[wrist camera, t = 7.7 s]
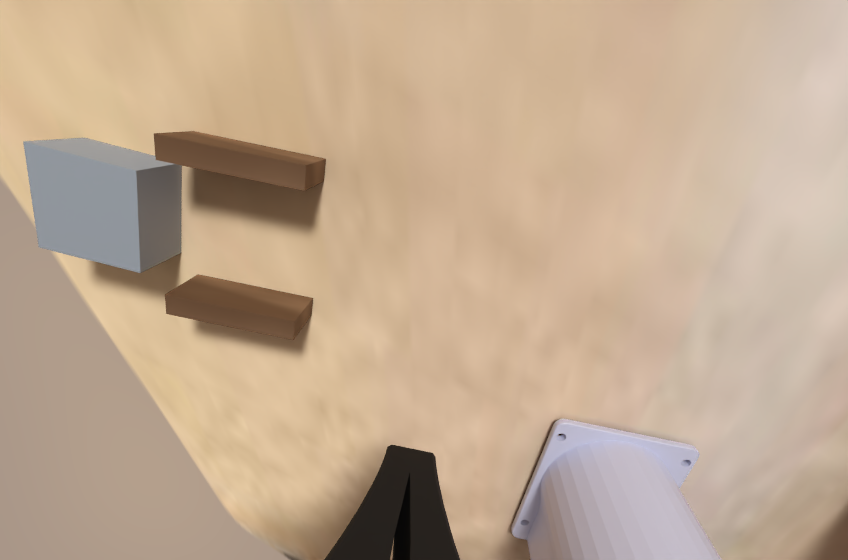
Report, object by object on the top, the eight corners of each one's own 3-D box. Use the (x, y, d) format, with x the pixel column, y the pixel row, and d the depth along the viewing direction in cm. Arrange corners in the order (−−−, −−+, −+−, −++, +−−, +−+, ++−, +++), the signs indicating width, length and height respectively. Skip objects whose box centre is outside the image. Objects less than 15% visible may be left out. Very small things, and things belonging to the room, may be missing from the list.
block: (183, 251, 20) (140, 272, 18) (96, 229, 20) (38, 247, 17) (184, 162, 19) (136, 170, 16) (88, 137, 18) (23, 141, 16)
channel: (311, 315, 21) (293, 340, 19) (198, 291, 21) (166, 313, 19) (325, 158, 18) (306, 165, 15) (193, 131, 18) (154, 133, 15)
